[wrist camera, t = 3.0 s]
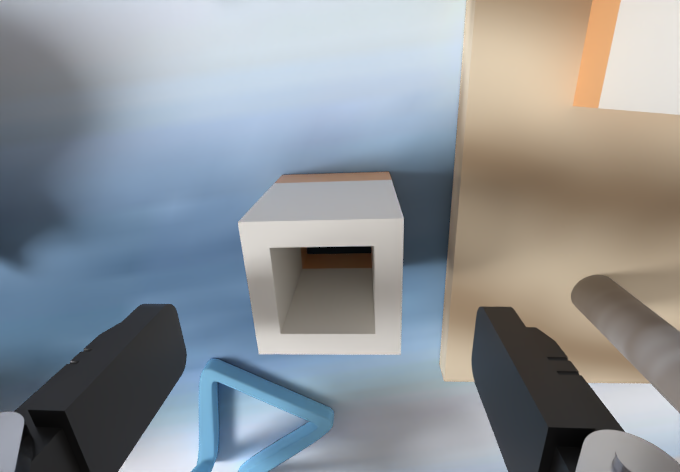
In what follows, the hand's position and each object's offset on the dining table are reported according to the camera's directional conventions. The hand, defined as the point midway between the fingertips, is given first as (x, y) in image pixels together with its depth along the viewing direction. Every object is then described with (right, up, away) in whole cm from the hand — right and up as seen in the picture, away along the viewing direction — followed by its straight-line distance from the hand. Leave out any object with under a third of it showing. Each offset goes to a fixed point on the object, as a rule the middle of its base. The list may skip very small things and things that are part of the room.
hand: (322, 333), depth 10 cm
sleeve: (0, +3, +7) cm, 7 cm away
